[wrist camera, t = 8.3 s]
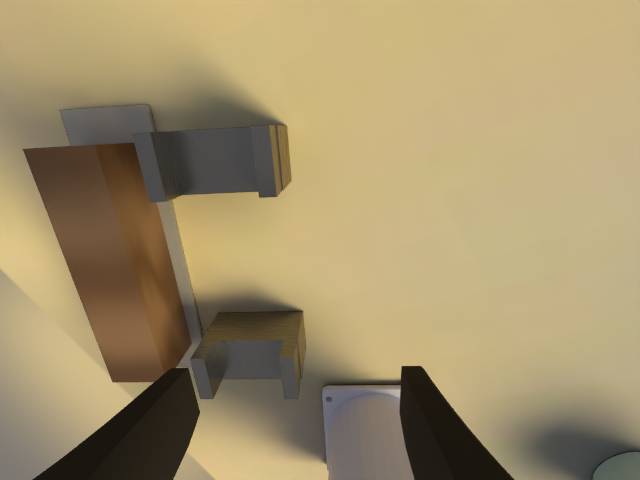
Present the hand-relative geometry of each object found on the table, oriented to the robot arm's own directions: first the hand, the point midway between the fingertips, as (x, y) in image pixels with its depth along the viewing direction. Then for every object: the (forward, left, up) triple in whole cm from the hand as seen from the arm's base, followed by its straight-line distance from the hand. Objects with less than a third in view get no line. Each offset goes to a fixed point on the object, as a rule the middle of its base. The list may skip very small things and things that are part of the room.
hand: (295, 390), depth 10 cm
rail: (+1, +11, -10) cm, 15 cm away
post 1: (+7, +4, -10) cm, 13 cm away
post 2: (-5, +4, -10) cm, 12 cm away
